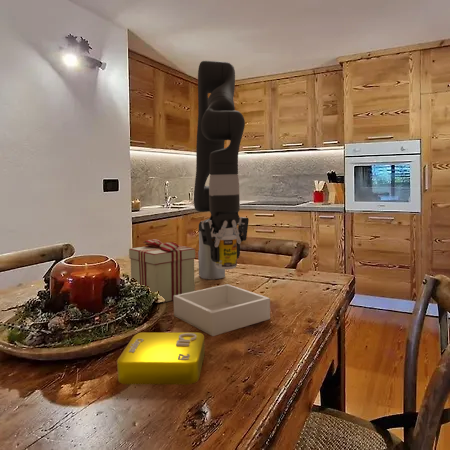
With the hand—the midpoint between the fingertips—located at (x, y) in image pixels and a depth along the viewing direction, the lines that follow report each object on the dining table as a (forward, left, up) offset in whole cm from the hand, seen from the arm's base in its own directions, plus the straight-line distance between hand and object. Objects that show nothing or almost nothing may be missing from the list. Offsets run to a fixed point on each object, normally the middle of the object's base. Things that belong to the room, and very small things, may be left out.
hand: (225, 259), depth 103 cm
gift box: (-31, -1, -16) cm, 35 cm away
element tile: (+13, -25, -16) cm, 32 cm away
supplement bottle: (0, 0, -2) cm, 2 cm away
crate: (-2, 0, -16) cm, 16 cm away
